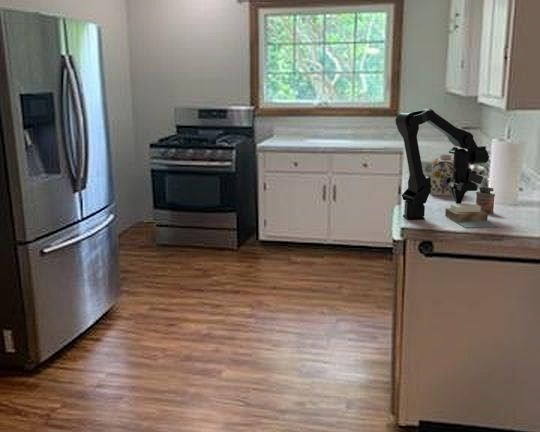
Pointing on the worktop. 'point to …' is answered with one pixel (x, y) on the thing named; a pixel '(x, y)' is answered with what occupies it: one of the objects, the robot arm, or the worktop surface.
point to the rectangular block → (466, 207)
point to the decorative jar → (441, 175)
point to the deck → (466, 215)
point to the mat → (476, 224)
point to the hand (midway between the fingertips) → (458, 205)
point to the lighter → (485, 199)
